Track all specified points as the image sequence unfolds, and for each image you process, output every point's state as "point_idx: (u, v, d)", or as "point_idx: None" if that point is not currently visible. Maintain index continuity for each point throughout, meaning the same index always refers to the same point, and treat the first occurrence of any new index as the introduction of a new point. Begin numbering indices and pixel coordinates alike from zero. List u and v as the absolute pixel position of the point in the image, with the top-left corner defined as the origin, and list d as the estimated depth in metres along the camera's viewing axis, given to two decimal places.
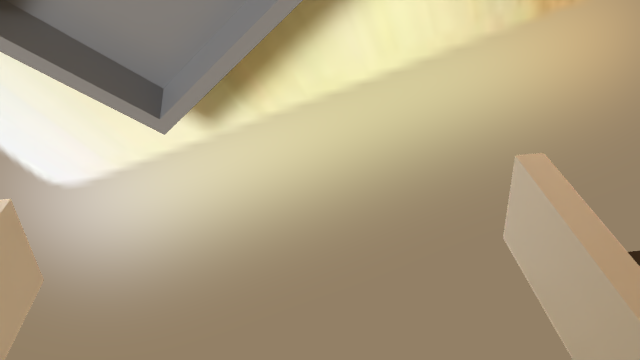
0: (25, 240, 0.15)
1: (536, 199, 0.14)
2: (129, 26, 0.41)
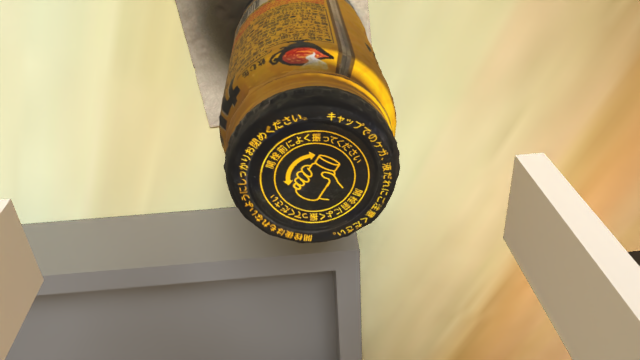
0: (25, 240, 0.15)
1: (535, 198, 0.14)
2: None
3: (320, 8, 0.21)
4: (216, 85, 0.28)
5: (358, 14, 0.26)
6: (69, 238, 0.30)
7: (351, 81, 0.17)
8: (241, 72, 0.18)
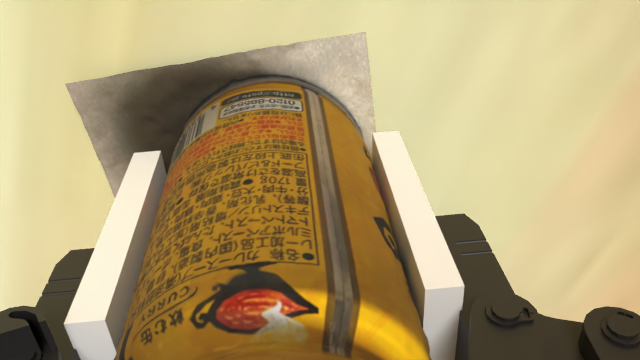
0: None
1: (381, 170, 0.15)
2: None
3: (297, 153, 0.13)
4: None
5: (359, 123, 0.17)
6: None
7: None
8: (142, 328, 0.09)
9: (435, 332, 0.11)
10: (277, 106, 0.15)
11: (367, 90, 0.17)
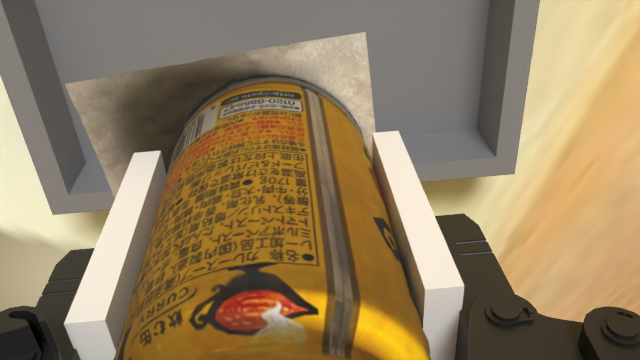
0: None
1: (380, 170, 0.15)
2: None
3: (297, 153, 0.13)
4: None
5: (359, 123, 0.17)
6: None
7: None
8: (140, 329, 0.09)
9: (435, 332, 0.11)
10: (276, 106, 0.15)
11: (367, 90, 0.17)
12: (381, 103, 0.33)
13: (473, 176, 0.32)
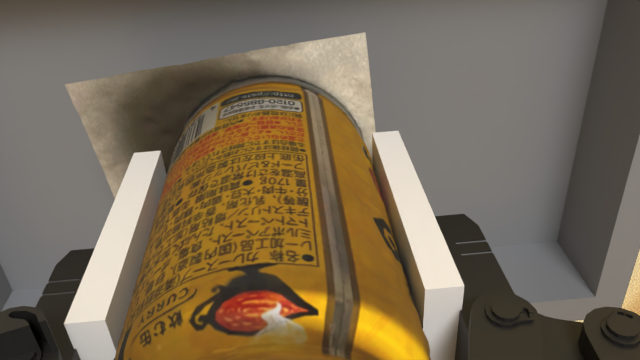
0: None
1: (380, 170, 0.15)
2: (60, 183, 0.22)
3: (297, 154, 0.13)
4: None
5: (359, 123, 0.17)
6: None
7: None
8: (140, 329, 0.09)
9: (435, 332, 0.11)
10: (276, 106, 0.15)
11: (367, 91, 0.17)
12: None
13: None
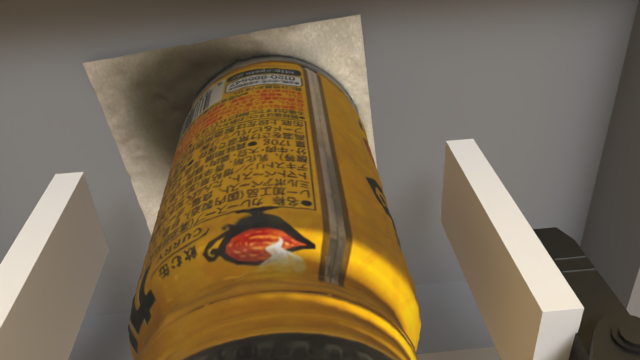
0: (94, 212, 0.16)
1: (460, 181, 0.15)
2: None
3: (297, 121, 0.14)
4: (161, 195, 0.20)
5: (355, 101, 0.19)
6: None
7: (346, 302, 0.09)
8: (159, 264, 0.11)
9: (546, 356, 0.11)
10: (278, 81, 0.16)
11: (362, 69, 0.18)
12: (437, 240, 0.22)
13: None
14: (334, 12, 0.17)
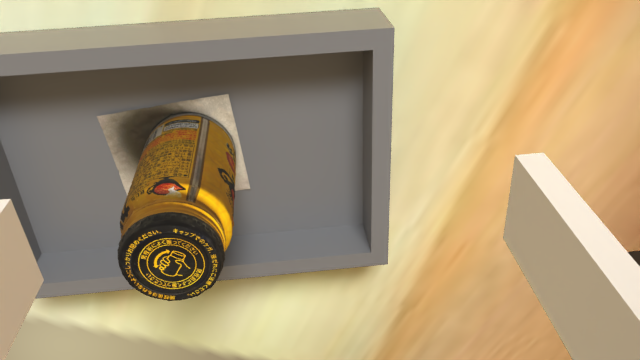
0: (26, 240, 0.15)
1: (535, 199, 0.14)
2: (72, 190, 0.39)
3: (190, 144, 0.33)
4: None
5: (230, 133, 0.38)
6: (134, 31, 0.34)
7: (193, 205, 0.29)
8: (131, 197, 0.30)
9: None
10: (187, 126, 0.35)
11: (232, 118, 0.38)
12: (283, 206, 0.42)
13: (354, 266, 0.41)
14: (216, 92, 0.37)
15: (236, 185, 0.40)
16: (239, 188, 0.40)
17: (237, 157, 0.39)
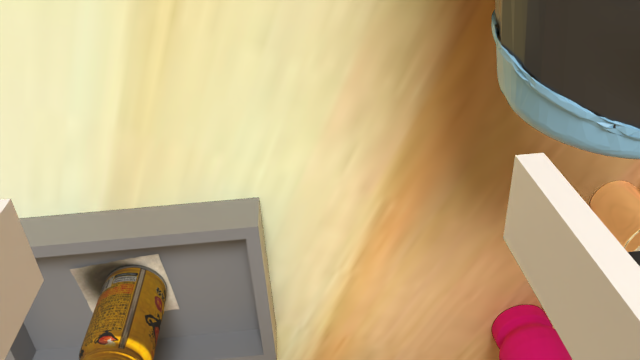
0: (25, 240, 0.15)
1: (535, 199, 0.14)
2: (55, 312, 0.57)
3: (128, 298, 0.50)
4: None
5: (162, 276, 0.55)
6: (91, 222, 0.51)
7: (121, 353, 0.46)
8: (85, 343, 0.47)
9: None
10: (128, 279, 0.52)
11: (162, 268, 0.55)
12: (204, 318, 0.59)
13: None
14: (150, 252, 0.54)
15: (169, 307, 0.57)
16: (172, 308, 0.58)
17: (168, 290, 0.56)
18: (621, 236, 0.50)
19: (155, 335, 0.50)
